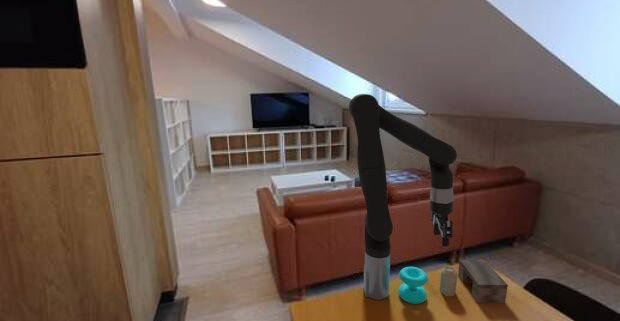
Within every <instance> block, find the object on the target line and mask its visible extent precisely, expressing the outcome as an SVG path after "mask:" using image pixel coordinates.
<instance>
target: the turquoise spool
mask: <svg viewBox="0 0 620 321" xmlns="http://www.w3.org/2000/svg"><path fill="white" fill-rule="evenodd" d="M399 279H400V281H402V284H400V286H399V287H398V295H399V296H400V298H401V299H402V300H403V301H405V302H406V303H409V304H413V305H414V304H415V305H418V304H422V303H424V302H425V301H426V300H427V297H428V296H427V291H426V290H425V288H424V286H425V285H426V284H427V283H428V280H429V277H428V274H427V272H426V271H424V270H423V269H421V268H420V267H415V266H405V267H403V268H402V269H401V270H400V271H399Z"/></svg>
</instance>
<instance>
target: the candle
mask: <svg viewBox="0 0 620 321" xmlns="http://www.w3.org/2000/svg"><path fill="white" fill-rule="evenodd" d="M457 280H458V271H456V269H455V268H454V267H450V266H449V267H448V266H446V267H443V268H441V270H440V280H439V281H440V283H439V292H440V293H441V294H442V295H444V296H447V297H453V296H455V295H456V292H457V291H456V290H457V283H458V282H457Z"/></svg>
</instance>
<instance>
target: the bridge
mask: <svg viewBox="0 0 620 321" xmlns="http://www.w3.org/2000/svg"><path fill="white" fill-rule="evenodd" d="M457 278H459V280H460V281H461V282H462V283H472V287H471V297H472V299H473V300H474V301H475V303H477V304H506V302H507V301H506V299H507V293H508V286H509V285H508V284H507V283H506V281H505V280H504V279H503V278H502V277H501V276H500V275H499V274H498V273H497V271H496V270H495V269H494V268H493V267H492V266H491V265H490V264H489V262H488V261H487V260H485V259H459V263H458V271H457Z"/></svg>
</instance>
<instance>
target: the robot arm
mask: <svg viewBox="0 0 620 321" xmlns="http://www.w3.org/2000/svg"><path fill="white" fill-rule="evenodd" d="M348 110H349V113H350V115H351V117H352V118H353V122H354V126H355V131H356V136H357V152H356V154H357V155H356V158H357V160H356V161H357V170H358V176H359V178H358V179H359V183H360V185H361V186H360V187H361V190H362V194H363V197H364V198H363V199H364V201H365V205H366V206H365V208H366V214H365V218H364V266H363V292H364V296H365V298H369V299H372V300H378V301H381V300H385V299H387V298H388V297H389V294H390V277H391V276H390V274H391V273H390V272H391V271H390V270H391V252H392V251H391V237H390V236H391V235H392V233H393V230H394V225H393V221H392V218H391V214H390V208H389V203H388V183H387V169H386V162H385V155H384V149H383V145H382V141H381V140H382V139H381V131H380V129H381V130H383V131H384V132H386V133H387V134H389V135H391V136H392V137H394V138H395V139H396V140H398V141H399V142H401V143H403V144H405V145H406V146H408V147H410V148H411V149H413V150H415V151H417V152H419V153H422V154H423V155H425V156H426V157H428V163H429V169H430V175H431V176H430V190H429V211H431V212H430V213H431V214H430V215H431V216H430V221H431V222H432V225H433V235H434V236H440V235H441V246H442V247H443V248H444V247H449V245H450V238H453V220H450V219H449V215H450V214H452V213H453V212H454V181H453V180H454V174H453V172H452V170H451V169H450V165H452V164H453V163H454V162H456V160H457V158H458V157H457V156H458V154H457V151H456V148H455V147H453V146H452V145H451V144H449V143H447V142H445V141H443V140H442V139H440V138H438V137H437V138H436V137H435V136H433V135H431V134H430V133H429V132H427V131H426V130H425V129H423V128H421V127H419V126H417V125H415V124H413V122H410V121H407V120H405V119H404V118H402V117H399V116H397V115H396V114H393V113H392V112H390V111H388V110H386V108H384V107H383V106H381V105H379V102H378V100H377V98H376V97H375V96H373V95H372V94H368V93H360V94H356V95H355V96H353V97H352V98H351V100H350V101H349V104H348Z"/></svg>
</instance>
